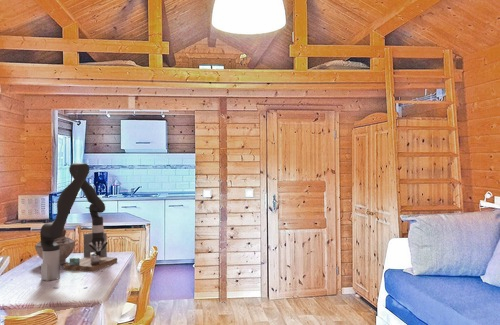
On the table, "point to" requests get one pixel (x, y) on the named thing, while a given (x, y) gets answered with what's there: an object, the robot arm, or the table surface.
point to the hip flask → (88, 249)
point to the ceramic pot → (65, 247)
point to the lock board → (88, 264)
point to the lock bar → (94, 258)
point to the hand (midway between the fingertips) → (98, 256)
